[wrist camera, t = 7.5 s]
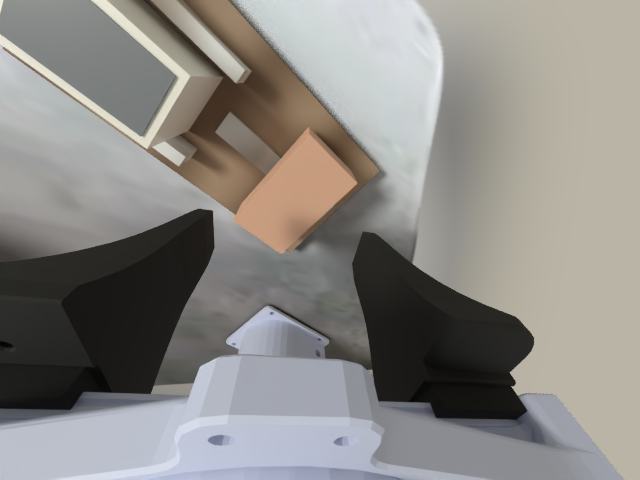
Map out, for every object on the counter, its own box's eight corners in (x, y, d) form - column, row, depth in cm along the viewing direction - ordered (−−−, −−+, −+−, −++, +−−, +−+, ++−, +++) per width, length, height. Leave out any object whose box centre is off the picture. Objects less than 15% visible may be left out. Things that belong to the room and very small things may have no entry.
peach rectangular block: (350, 170, 17) (357, 183, 15) (283, 234, 20) (281, 254, 17) (308, 126, 15) (309, 134, 13) (241, 203, 18) (232, 220, 16)
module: (223, 77, 14) (189, 76, 10) (188, 130, 16) (145, 149, 11) (114, -29, 12) (6, -90, 7) (84, 46, 13) (-21, 31, 9)
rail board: (376, 166, 19) (388, 180, 16) (290, 246, 22) (288, 267, 20) (83, -163, 10) (13, -240, 8) (20, 50, 14) (-42, 44, 11)
